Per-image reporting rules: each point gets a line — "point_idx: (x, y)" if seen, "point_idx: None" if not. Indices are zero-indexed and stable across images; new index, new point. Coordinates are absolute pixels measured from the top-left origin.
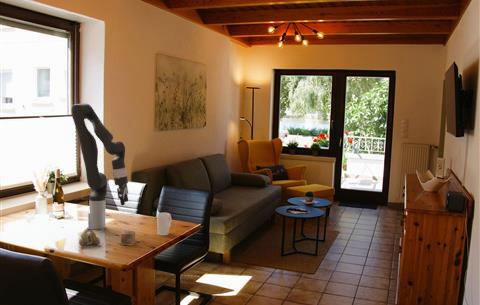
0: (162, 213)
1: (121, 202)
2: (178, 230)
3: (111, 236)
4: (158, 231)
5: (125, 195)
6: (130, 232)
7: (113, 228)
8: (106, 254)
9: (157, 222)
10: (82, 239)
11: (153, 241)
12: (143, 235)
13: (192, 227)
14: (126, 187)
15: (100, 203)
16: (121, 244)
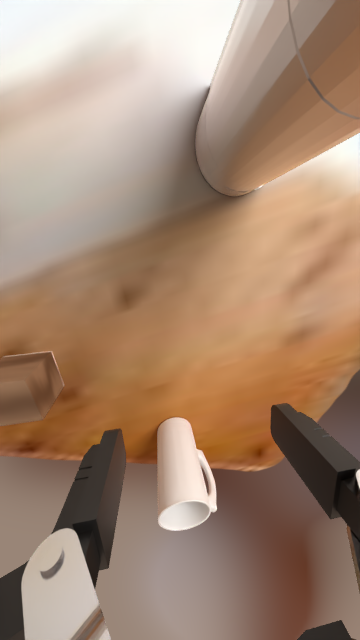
0: (207, 502)
1: (80, 478)
2: (216, 449)
3: (99, 280)
4: (162, 432)
5: (340, 497)
6: (12, 412)
7: (227, 245)
8: None
9: (173, 459)
10: None
11: (88, 430)
12: (146, 386)
13: (247, 466)
14: None
15: (333, 14)
16: (3, 357)
